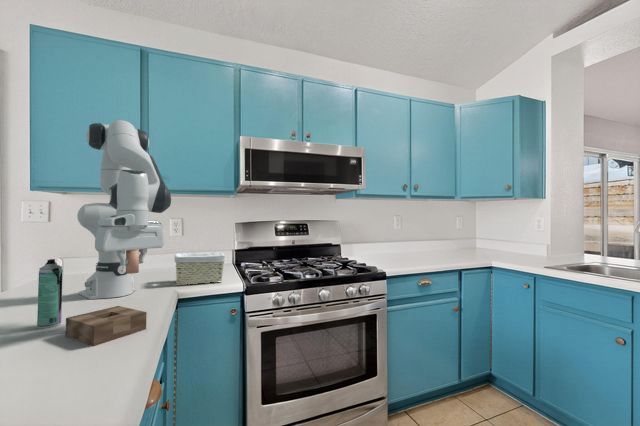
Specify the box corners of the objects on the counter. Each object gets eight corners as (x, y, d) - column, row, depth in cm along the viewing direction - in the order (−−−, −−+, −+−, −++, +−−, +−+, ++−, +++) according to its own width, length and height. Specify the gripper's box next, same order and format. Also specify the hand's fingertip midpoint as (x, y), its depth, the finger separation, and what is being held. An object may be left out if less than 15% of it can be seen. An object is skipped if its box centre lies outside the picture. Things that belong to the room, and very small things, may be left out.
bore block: (65, 336, 86) (66, 317, 86) (117, 321, 99) (118, 305, 99) (93, 345, 80) (94, 326, 80) (146, 329, 92) (146, 312, 92)
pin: (123, 273, 97) (123, 250, 98) (134, 271, 101) (134, 249, 101) (130, 273, 96) (130, 250, 96) (141, 272, 99) (141, 250, 99)
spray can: (65, 322, 97) (67, 258, 98) (51, 329, 92) (53, 260, 92) (47, 322, 97) (49, 258, 97) (31, 329, 91) (34, 260, 92)
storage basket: (221, 277, 175) (221, 251, 175) (225, 283, 160) (225, 254, 160) (174, 281, 165) (174, 253, 165) (173, 287, 150) (174, 256, 150)
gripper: (156, 220, 110) (155, 260, 109) (92, 220, 91) (91, 267, 91) (168, 220, 107) (167, 261, 106) (105, 219, 88) (104, 269, 88)
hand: (132, 264), depth 98 cm, fingers closed on pin, 3 cm apart
